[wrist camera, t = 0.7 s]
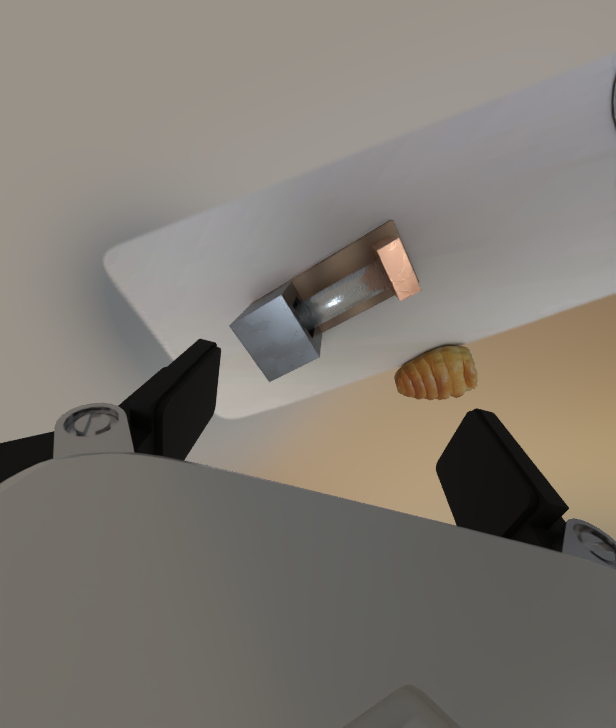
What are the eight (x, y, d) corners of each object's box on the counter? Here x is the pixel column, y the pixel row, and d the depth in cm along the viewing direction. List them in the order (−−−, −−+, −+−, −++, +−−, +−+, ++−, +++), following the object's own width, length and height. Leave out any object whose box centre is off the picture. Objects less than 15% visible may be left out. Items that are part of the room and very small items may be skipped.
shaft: (389, 235, 29) (399, 238, 24) (408, 280, 31) (421, 290, 26) (279, 299, 33) (271, 311, 28) (302, 336, 34) (298, 353, 30)
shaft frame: (390, 220, 30) (408, 219, 23) (415, 279, 33) (440, 297, 25) (251, 303, 36) (229, 325, 28) (282, 349, 38) (269, 381, 30)
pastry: (399, 400, 40) (405, 417, 37) (388, 358, 38) (393, 371, 34) (471, 382, 38) (485, 398, 35) (464, 336, 36) (478, 348, 32)
